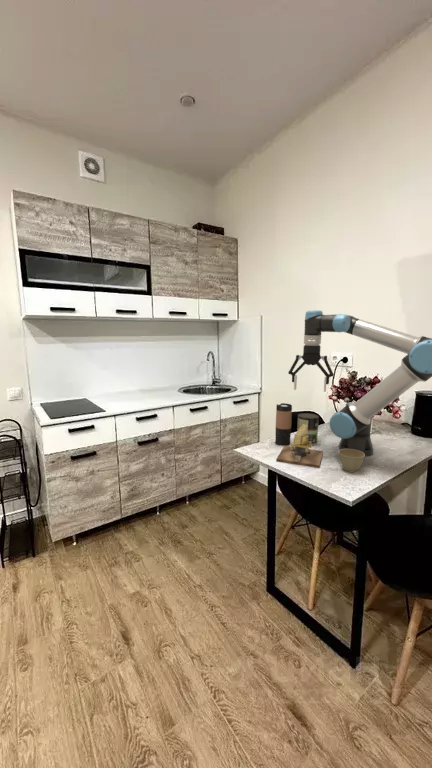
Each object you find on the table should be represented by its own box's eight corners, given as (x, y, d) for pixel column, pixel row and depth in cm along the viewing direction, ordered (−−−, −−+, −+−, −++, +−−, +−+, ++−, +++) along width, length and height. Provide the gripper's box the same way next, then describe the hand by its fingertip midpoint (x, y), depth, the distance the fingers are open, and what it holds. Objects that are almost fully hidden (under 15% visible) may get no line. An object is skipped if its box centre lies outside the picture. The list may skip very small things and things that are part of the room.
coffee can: (317, 440, 173) (319, 414, 171) (316, 446, 163) (318, 419, 161) (297, 438, 176) (298, 412, 174) (295, 444, 167) (296, 417, 164)
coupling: (296, 440, 159) (297, 423, 157) (313, 443, 155) (314, 425, 154) (287, 453, 143) (288, 434, 141) (306, 456, 139) (307, 436, 138)
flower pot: (338, 463, 144) (339, 447, 143) (363, 466, 140) (364, 450, 139) (336, 472, 135) (337, 455, 133) (363, 476, 131) (365, 459, 130)
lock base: (322, 453, 155) (323, 441, 154) (319, 468, 138) (319, 454, 137) (284, 447, 161) (284, 436, 160) (276, 461, 145) (276, 448, 144)
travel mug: (290, 446, 163) (292, 407, 160) (274, 445, 165) (276, 406, 161) (290, 441, 170) (292, 403, 167) (275, 440, 172) (276, 402, 169)
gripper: (283, 344, 154) (281, 389, 157) (340, 345, 145) (337, 393, 148) (286, 343, 161) (284, 387, 164) (341, 345, 152) (338, 390, 155)
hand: (309, 390), depth 156 cm, fingers open, 13 cm apart
